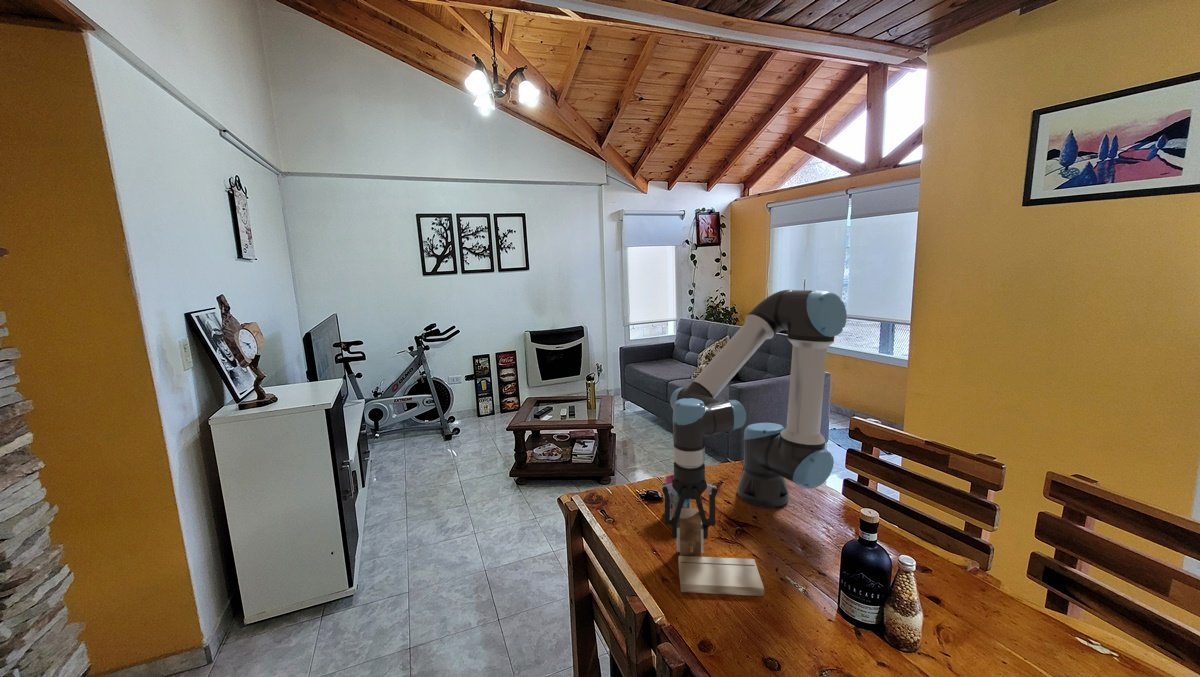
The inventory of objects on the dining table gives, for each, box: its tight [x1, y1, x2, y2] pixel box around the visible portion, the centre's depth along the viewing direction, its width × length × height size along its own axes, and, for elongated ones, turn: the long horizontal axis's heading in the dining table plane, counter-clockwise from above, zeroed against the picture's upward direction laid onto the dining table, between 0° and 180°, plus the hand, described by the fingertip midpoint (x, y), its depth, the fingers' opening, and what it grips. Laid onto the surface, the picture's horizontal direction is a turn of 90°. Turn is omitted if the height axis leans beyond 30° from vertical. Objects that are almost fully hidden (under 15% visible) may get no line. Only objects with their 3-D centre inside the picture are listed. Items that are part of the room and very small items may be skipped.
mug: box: [661, 474, 692, 522], centre depth 132 cm, size 12×9×11 cm
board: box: [677, 555, 765, 597], centre depth 105 cm, size 18×10×2 cm, turn 83°
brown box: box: [678, 507, 702, 557], centre depth 111 cm, size 5×9×11 cm, turn 173°
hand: (689, 549), depth 114 cm, fingers closed on brown box, 5 cm apart
